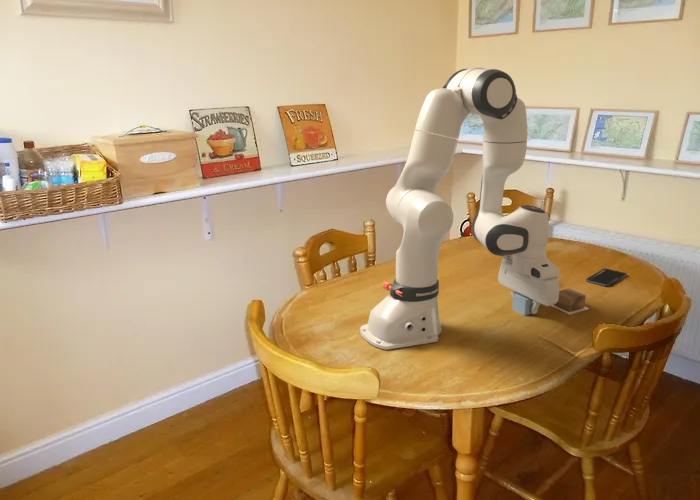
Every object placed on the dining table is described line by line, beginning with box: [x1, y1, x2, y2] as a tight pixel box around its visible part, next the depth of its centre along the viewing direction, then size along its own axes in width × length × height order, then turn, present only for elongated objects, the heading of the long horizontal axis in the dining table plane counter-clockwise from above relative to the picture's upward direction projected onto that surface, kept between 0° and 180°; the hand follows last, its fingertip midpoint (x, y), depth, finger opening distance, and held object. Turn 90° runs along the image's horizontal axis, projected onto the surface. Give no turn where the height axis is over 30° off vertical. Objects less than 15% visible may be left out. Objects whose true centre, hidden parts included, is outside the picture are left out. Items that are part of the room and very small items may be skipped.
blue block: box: [511, 293, 539, 317], centre depth 158 cm, size 5×5×6 cm
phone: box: [585, 268, 628, 288], centre depth 185 cm, size 8×1×15 cm
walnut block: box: [554, 288, 587, 312], centre depth 160 cm, size 6×6×4 cm
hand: (524, 308), depth 159 cm, fingers closed on blue block, 5 cm apart
